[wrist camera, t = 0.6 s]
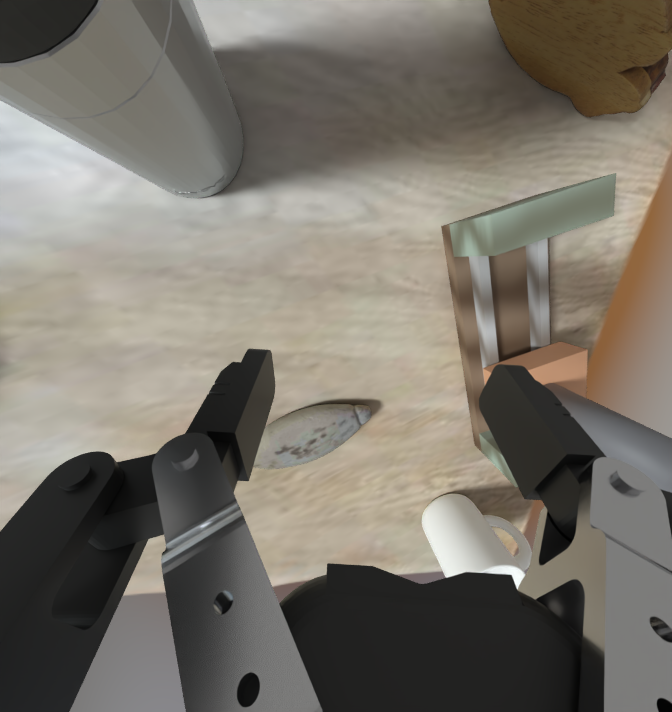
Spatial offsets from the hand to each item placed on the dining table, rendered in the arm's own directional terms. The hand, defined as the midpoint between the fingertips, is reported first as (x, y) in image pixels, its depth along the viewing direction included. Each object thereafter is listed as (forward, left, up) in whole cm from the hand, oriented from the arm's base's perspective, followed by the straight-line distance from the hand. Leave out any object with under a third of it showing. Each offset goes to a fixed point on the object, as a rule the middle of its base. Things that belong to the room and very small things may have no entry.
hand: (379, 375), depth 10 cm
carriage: (+16, +18, -16) cm, 29 cm away
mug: (+36, +9, -20) cm, 42 cm away
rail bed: (+11, +18, -19) cm, 29 cm away
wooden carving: (-14, +24, -20) cm, 34 cm away
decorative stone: (+14, -7, -20) cm, 25 cm away
